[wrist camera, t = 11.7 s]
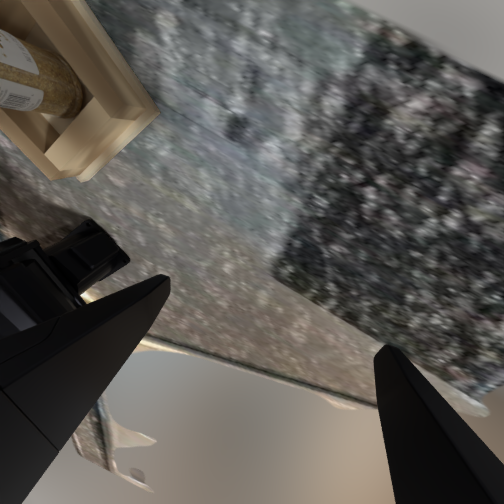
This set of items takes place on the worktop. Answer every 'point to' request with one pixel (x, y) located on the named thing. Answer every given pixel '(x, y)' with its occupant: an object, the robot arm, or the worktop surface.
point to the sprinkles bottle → (36, 79)
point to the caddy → (92, 85)
